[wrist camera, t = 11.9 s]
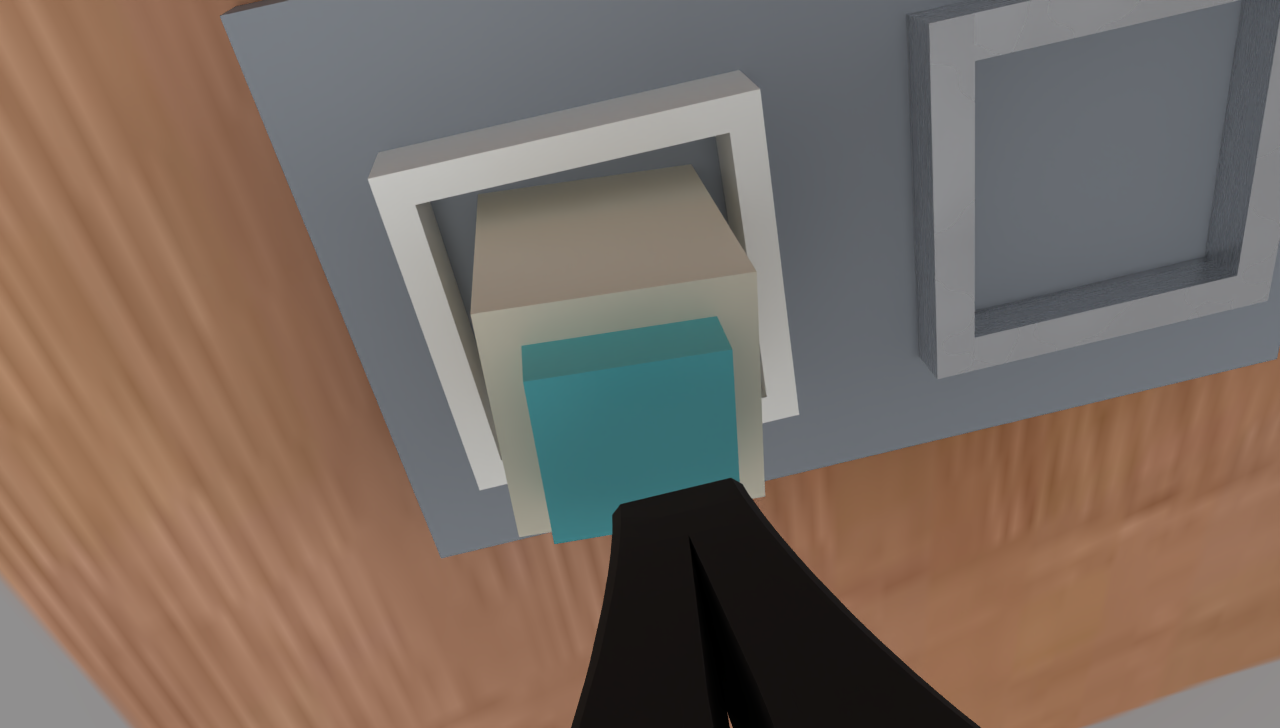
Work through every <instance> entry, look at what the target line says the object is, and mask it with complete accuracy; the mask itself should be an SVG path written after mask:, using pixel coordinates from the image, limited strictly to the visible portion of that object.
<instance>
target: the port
mask: <svg viewBox="0 0 1280 728" xmlns="http://www.w3.org/2000/svg"><path fill="white" fill-rule="evenodd" d="M713 136H716V142H717V149H718V156H719V163H720V169H721V176H722V183H723V189H724V196H725V203H726V210H727V216H728V223H729V227H730V229H731V230H732V232H733V234H734V235H735V237H736V238H737V240H738V242H739V243H740V245H741V247H742V248H743V250H744V252H745V253H746V255H747V256H748V258H749V260H750V261H751V263H752V265H753V266H754V268H755V270H756V271H757V293H758V320H759V346H760V373H761V400H762V423H766V422H770V421H775V420H779V419H783V418H787V417H791V416H796V415H799V409H798V400H797V392H796V384H795V375H794V367H793V359H792V350H791V342H790V334H789V325H788V317H787V309H786V300H785V292H784V284H783V275H782V267H781V258H780V250H779V242H778V233H777V225H776V217H775V208H774V200H773V192H772V183H771V175H770V167H769V158H768V150H767V142H766V133H765V125H764V117H763V108H762V100H761V92H760V88H759V87H757V86H756V85H755V84H754V83H753V82H752V81H751V80H750V79H749V78H748V77H747V76H745V75H744V74H743V73H742V72H741V71H740V70H737V71H732V72H728V73H724V74H719V75H715V76H711V77H706V78H702V79H697V80H693V81H689V82H684V83H680V84H676V85H671V86H667V87H662V88H658V89H654V90H649V91H645V92H641V93H636V94H632V95H627V96H623V97H619V98H614V99H610V100H606V101H601V102H597V103H593V104H588V105H584V106H579V107H575V108H571V109H566V110H562V111H558V112H553V113H549V114H544V115H540V116H536V117H531V118H527V119H523V120H518V121H514V122H509V123H505V124H501V125H496V126H492V127H488V128H483V129H479V130H474V131H470V132H466V133H461V134H457V135H453V136H448V137H444V138H440V139H435V140H431V141H426V142H422V143H418V144H413V145H409V146H405V147H400V148H396V149H391V150H387V151H383V152H378V154H377V157H376V159H375V162H374V164H373V167H372V169H371V172H370V174H369V177H368V181H369V184H370V187H371V190H372V193H373V195H374V198H375V201H376V204H377V206H378V209H379V212H380V215H381V218H382V220H383V223H384V226H385V229H386V231H387V234H388V237H389V240H390V243H391V245H392V248H393V251H394V254H395V256H396V259H397V262H398V265H399V268H400V270H401V273H402V276H403V279H404V281H405V284H406V287H407V290H408V293H409V295H410V298H411V301H412V304H413V306H414V309H415V312H416V315H417V318H418V320H419V323H420V326H421V329H422V331H423V334H424V337H425V340H426V343H427V345H428V348H429V351H430V354H431V357H432V359H433V362H434V365H435V368H436V370H437V373H438V376H439V379H440V382H441V384H442V387H443V390H444V393H445V395H446V398H447V401H448V404H449V407H450V409H451V412H452V415H453V418H454V420H455V423H456V426H457V429H458V432H459V434H460V437H461V440H462V443H463V445H464V448H465V451H466V454H467V457H468V459H469V462H470V465H471V468H472V470H473V473H474V476H475V479H476V482H477V484H478V487H479V490H484V489H488V488H492V487H496V486H501V485H505V484H507V480H506V475H505V470H504V466H503V461H502V457H501V452H500V447H499V443H498V438H497V434H496V429H495V425H494V420H493V415H492V411H491V406H490V402H489V397H488V393H487V388H486V383H485V379H484V374H483V370H482V365H481V361H480V356H479V351H478V347H477V344H476V341H475V338H474V335H473V332H472V329H471V326H470V323H469V320H468V316H467V313H466V310H465V307H464V304H463V301H462V298H461V295H460V292H459V289H458V286H457V283H456V280H455V277H454V274H453V271H452V268H451V265H450V261H449V258H448V255H447V252H446V249H445V246H444V243H443V240H442V237H441V234H440V231H439V228H438V225H437V222H436V219H435V216H434V213H433V210H432V206H431V203H430V201H434V200H439V199H443V198H448V197H452V196H456V195H461V194H465V193H469V192H474V191H478V190H482V189H487V188H491V187H495V186H500V185H504V184H508V183H513V182H517V181H521V180H526V179H530V178H534V177H539V176H543V175H547V174H552V173H556V172H560V171H565V170H569V169H573V168H578V167H582V166H587V165H591V164H595V163H600V162H604V161H608V160H613V159H617V158H621V157H626V156H630V155H634V154H639V153H643V152H647V151H652V150H656V149H660V148H665V147H669V146H673V145H678V144H682V143H686V142H691V141H695V140H699V139H704V138H708V137H713Z"/></svg>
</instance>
